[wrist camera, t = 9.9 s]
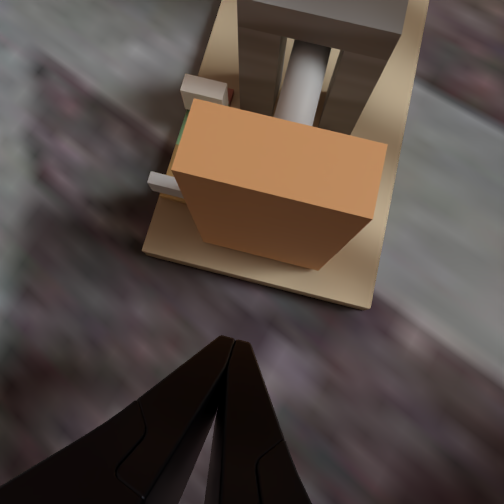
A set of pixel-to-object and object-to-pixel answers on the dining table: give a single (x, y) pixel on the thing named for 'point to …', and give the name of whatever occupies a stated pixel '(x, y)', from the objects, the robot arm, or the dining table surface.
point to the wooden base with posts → (326, 117)
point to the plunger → (276, 173)
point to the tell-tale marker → (203, 90)
